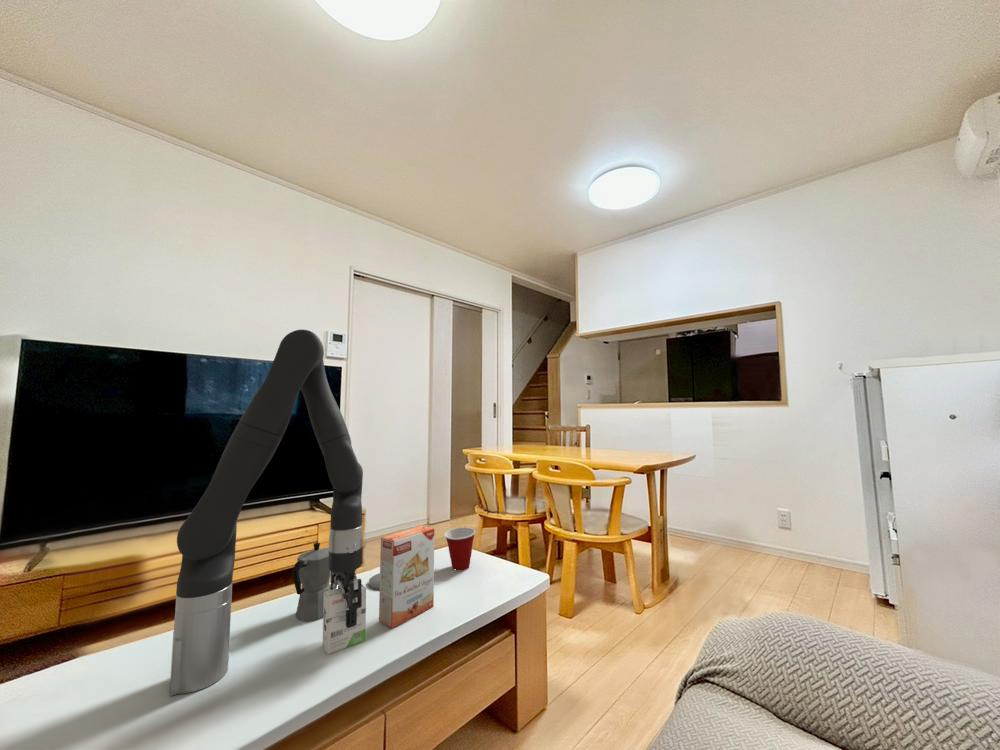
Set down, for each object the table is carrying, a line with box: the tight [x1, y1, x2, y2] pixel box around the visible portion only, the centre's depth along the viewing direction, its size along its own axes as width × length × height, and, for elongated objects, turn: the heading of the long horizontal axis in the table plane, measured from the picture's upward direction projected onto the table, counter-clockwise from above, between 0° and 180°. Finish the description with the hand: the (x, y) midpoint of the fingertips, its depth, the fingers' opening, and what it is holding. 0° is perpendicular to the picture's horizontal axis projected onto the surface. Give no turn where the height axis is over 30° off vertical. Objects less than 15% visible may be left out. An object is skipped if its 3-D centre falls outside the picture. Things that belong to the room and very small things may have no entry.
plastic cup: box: [443, 526, 476, 571], centre depth 133 cm, size 11×11×12 cm
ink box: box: [322, 583, 367, 655], centre depth 90 cm, size 9×5×12 cm, turn 126°
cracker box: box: [378, 525, 435, 629], centre depth 103 cm, size 14×6×21 cm, turn 143°
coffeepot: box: [291, 542, 331, 622], centre depth 103 cm, size 15×9×18 cm, turn 169°
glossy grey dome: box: [368, 572, 380, 590], centre depth 122 cm, size 12×12×1 cm
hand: (344, 618), depth 90 cm, fingers open, 8 cm apart
